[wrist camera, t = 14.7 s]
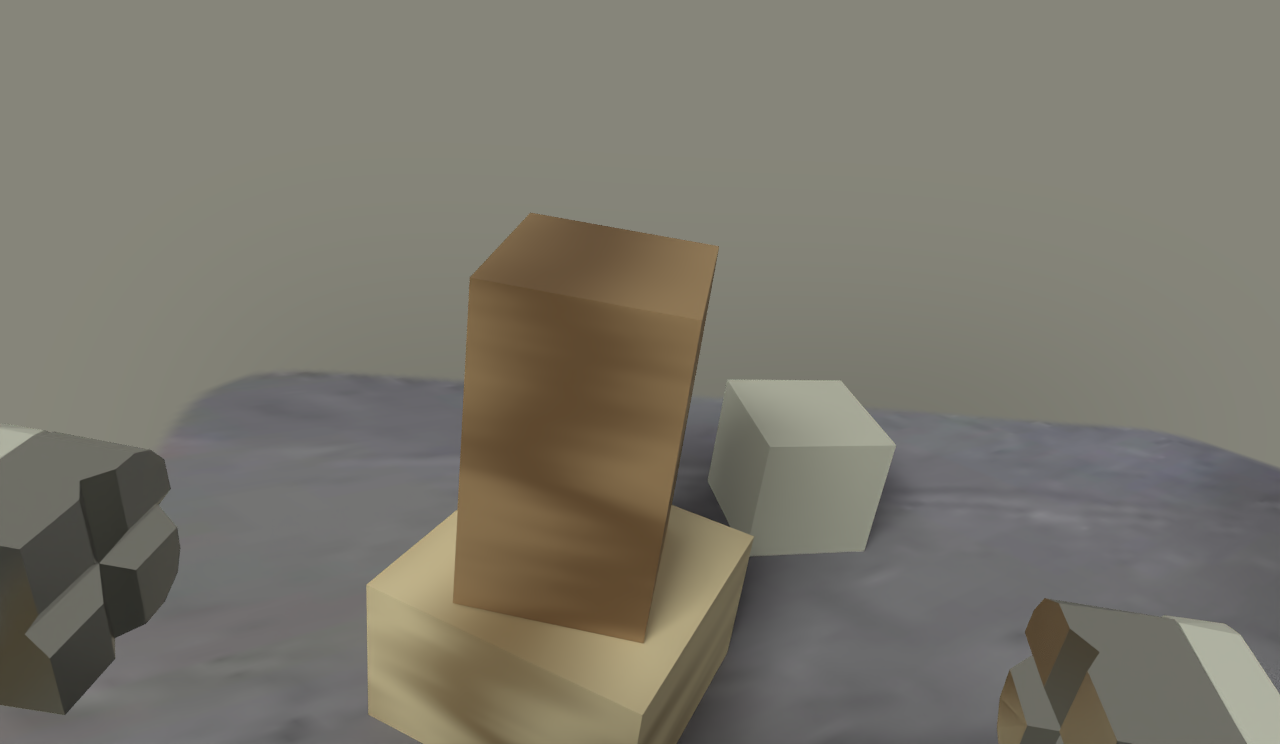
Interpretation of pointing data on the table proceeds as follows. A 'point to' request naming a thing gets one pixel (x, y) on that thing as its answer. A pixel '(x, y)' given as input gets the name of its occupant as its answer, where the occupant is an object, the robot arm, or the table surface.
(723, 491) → the grey cube
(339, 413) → the table surface
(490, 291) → the walnut block
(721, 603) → the oak block
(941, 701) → the table surface
